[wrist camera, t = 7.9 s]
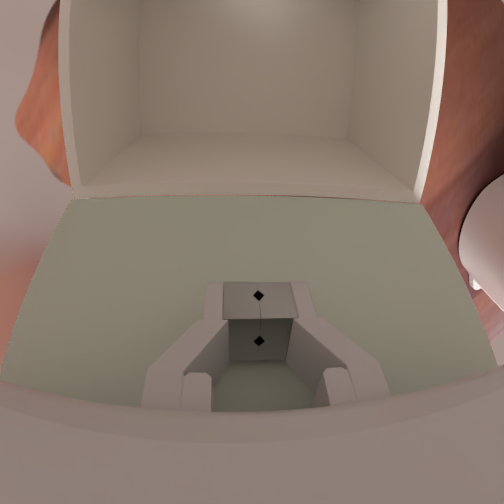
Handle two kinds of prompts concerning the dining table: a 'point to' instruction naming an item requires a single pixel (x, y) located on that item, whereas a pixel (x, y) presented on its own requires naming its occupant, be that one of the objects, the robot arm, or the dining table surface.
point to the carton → (251, 96)
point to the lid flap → (239, 270)
